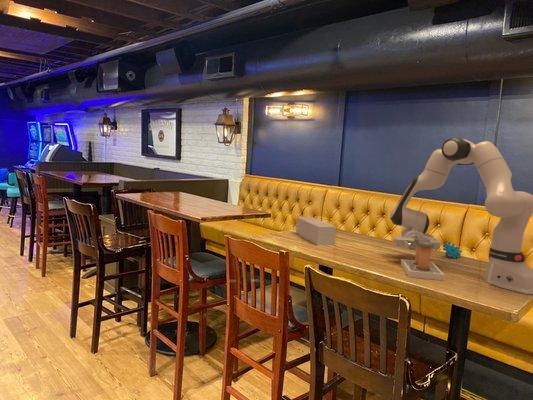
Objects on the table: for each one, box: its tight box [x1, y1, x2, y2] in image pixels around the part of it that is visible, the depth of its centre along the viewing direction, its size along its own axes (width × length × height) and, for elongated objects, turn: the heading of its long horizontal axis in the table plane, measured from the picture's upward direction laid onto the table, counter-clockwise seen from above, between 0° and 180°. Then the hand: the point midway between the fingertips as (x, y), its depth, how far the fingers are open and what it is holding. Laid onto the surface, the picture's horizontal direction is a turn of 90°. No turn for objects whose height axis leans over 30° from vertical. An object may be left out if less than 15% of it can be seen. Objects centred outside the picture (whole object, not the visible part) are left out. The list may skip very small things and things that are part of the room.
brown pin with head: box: [414, 237, 430, 265], centre depth 180 cm, size 7×7×14 cm
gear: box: [442, 241, 463, 260], centre depth 213 cm, size 11×6×10 cm
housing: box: [400, 258, 445, 281], centre depth 177 cm, size 20×14×4 cm
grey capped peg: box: [418, 241, 434, 271], centre depth 172 cm, size 7×7×14 cm
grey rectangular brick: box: [295, 216, 337, 246], centre depth 238 cm, size 32×11×11 cm, turn 18°
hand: (420, 246), depth 182 cm, fingers open, 8 cm apart
